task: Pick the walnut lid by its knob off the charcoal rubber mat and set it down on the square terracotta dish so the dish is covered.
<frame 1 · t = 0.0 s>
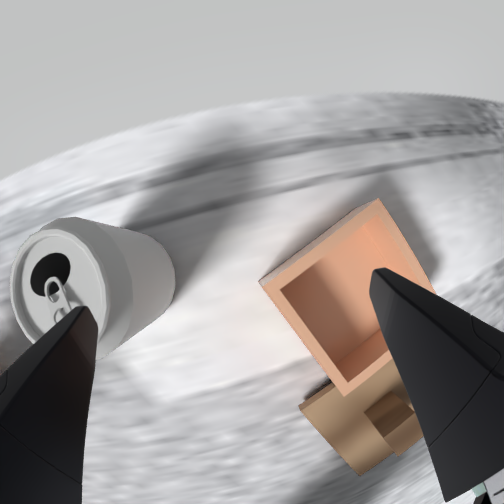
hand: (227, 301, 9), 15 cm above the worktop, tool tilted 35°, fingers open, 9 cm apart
can: (134, 278, 24), on the worktop
dish: (344, 293, 24), on the worktop
lid: (380, 407, 23), point 1 cm above the worktop, touching mat
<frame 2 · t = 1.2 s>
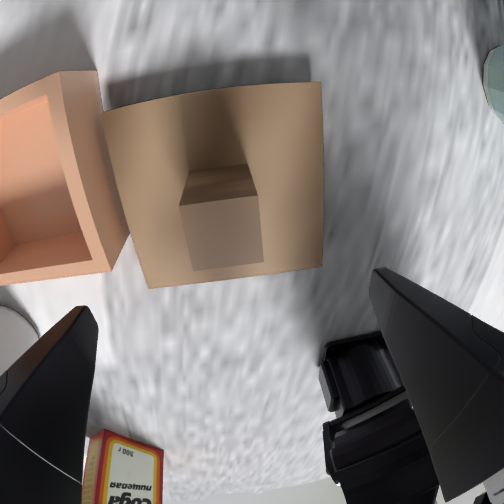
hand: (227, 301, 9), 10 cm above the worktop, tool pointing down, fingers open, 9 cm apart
baking soda box: (125, 444, 35), on the worktop
can: (15, 328, 22), on the worktop
dish: (43, 172, 15), on the worktop
lid: (221, 188, 17), point 1 cm above the worktop, touching mat
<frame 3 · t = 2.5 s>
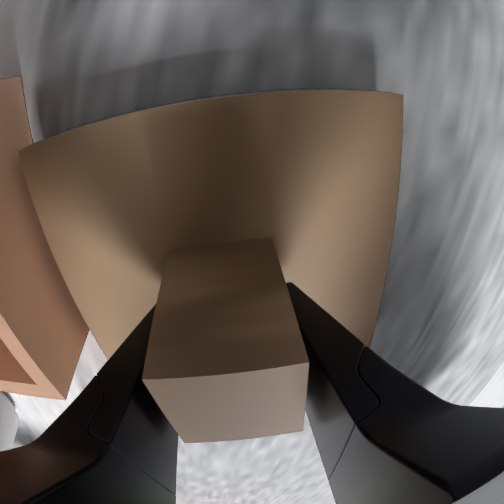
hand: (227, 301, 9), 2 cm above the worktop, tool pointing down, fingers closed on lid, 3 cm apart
lid: (225, 266, 10), point 1 cm above the worktop, touching gripper, mat
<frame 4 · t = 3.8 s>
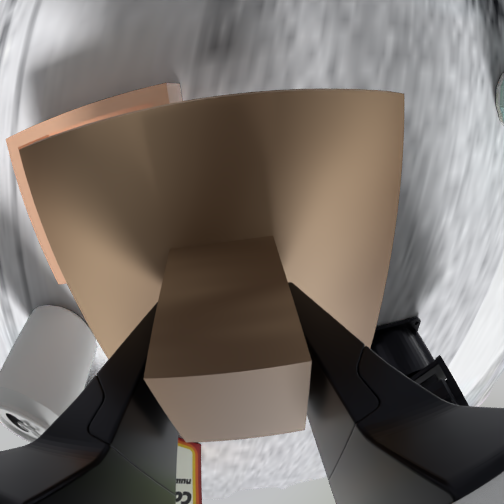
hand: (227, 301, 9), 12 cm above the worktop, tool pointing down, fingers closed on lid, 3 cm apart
baking soda box: (163, 440, 38), on the worktop
can: (65, 327, 25), on the worktop
dish: (119, 174, 19), on the worktop
lid: (227, 265, 10), point 10 cm above the worktop, touching gripper
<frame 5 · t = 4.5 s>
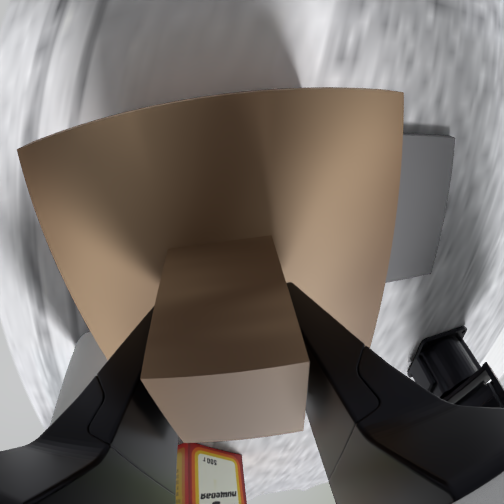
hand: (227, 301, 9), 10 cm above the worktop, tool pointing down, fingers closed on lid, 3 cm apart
baking soda box: (202, 453, 37), on the worktop
can: (119, 350, 24), on the worktop
mat: (391, 213, 19), on the worktop
lid: (225, 265, 10), point 8 cm above the worktop, touching gripper
when the fingers open (8 cm above the worktop, at t = 5.0 s): lid drops 1 cm, resting on dish.
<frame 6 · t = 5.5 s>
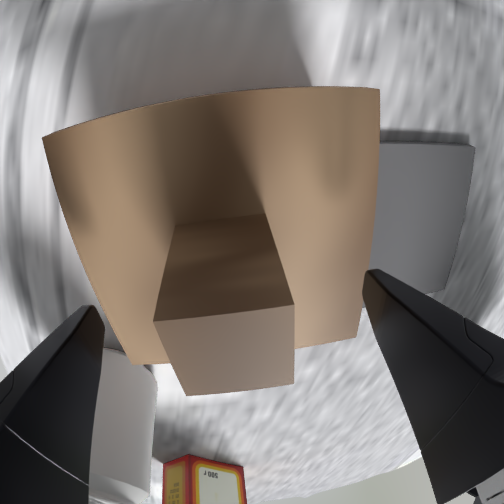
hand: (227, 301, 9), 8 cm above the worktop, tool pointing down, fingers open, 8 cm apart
baking soda box: (203, 465, 36), on the worktop
can: (115, 369, 22), on the worktop
mat: (407, 227, 17), on the worktop
lid: (225, 243, 12), point 4 cm above the worktop, touching dish
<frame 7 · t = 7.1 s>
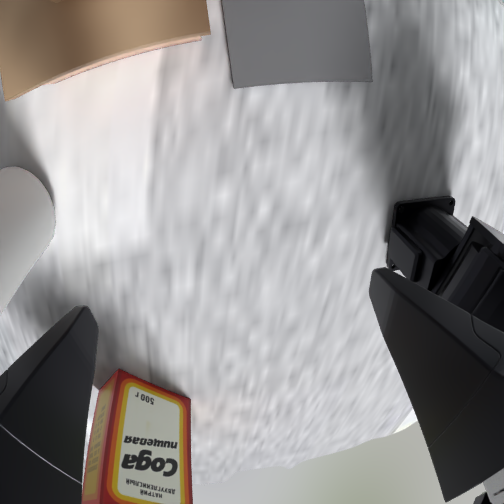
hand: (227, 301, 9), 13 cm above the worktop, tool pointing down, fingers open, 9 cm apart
baking soda box: (143, 394, 32), on the worktop
can: (23, 207, 19), on the worktop
mat: (295, 4, 14), on the worktop
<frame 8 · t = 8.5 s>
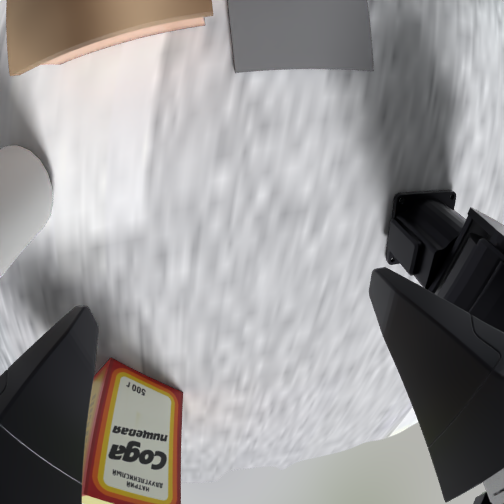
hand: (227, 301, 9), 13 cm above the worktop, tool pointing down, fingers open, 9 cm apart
baking soda box: (135, 385, 32), on the worktop
can: (22, 187, 19), on the worktop
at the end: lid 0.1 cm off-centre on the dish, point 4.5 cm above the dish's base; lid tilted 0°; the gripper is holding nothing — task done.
